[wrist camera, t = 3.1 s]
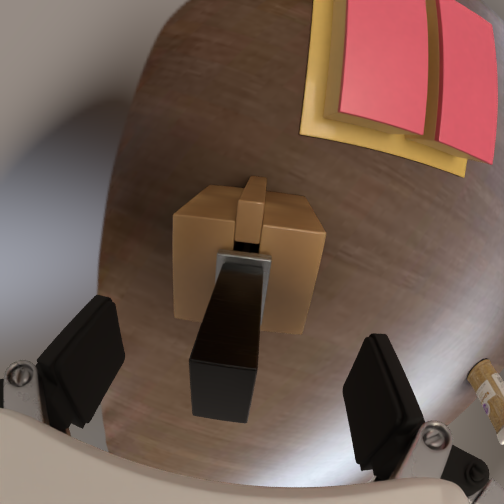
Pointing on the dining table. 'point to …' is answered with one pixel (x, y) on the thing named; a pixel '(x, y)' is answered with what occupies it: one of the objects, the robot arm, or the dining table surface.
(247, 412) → the knife
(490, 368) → the sprinkles bottle
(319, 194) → the dining table surface
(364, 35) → the cake
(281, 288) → the knife block
